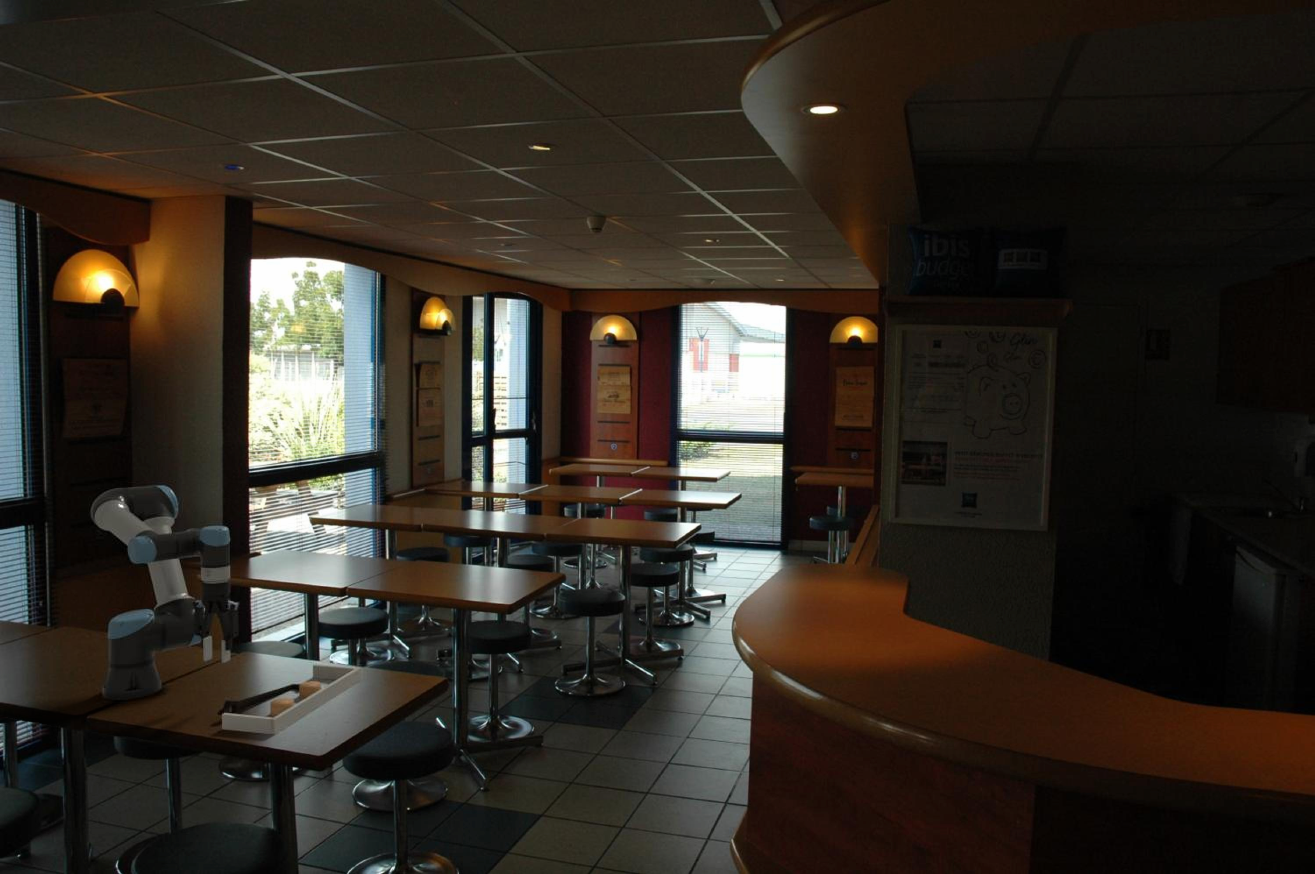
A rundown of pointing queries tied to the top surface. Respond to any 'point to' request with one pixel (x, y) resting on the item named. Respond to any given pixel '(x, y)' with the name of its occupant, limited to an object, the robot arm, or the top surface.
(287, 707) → the puck
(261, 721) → the chip tray
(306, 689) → the puck
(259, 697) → the black hooked stick
